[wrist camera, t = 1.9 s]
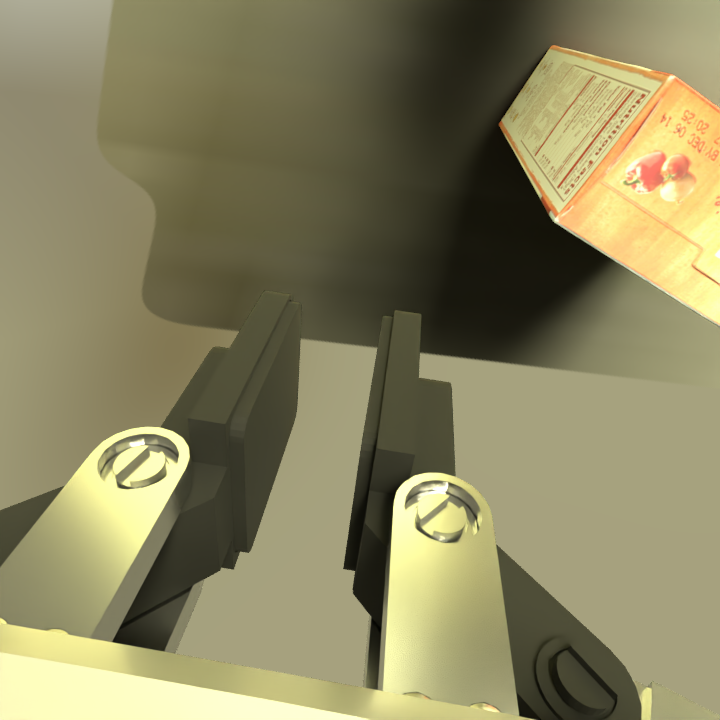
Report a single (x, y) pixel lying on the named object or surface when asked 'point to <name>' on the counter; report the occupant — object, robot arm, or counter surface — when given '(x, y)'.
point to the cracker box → (626, 168)
